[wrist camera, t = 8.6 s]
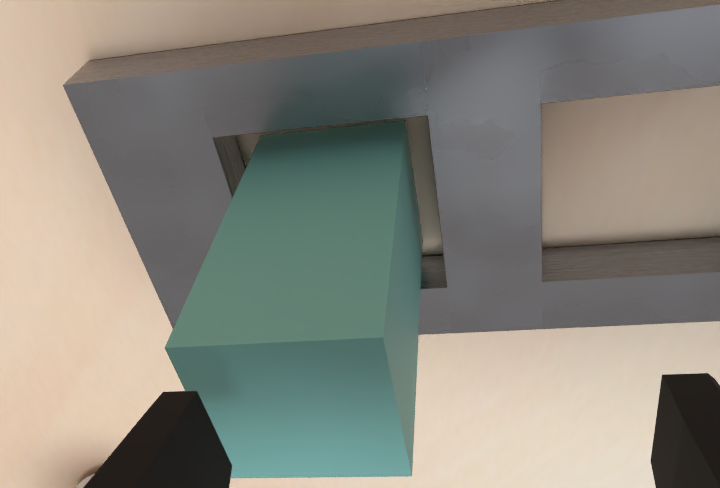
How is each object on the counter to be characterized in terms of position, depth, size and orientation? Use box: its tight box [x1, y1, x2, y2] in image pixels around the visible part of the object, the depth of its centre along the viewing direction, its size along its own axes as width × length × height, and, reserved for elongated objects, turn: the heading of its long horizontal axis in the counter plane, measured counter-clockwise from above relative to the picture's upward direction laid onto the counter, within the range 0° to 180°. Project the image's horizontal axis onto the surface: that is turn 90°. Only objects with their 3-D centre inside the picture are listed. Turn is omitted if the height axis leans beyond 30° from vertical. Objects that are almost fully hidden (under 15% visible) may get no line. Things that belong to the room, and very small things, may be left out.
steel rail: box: [63, 0, 720, 335], centre depth 18 cm, size 20×9×2 cm, turn 100°
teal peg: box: [165, 120, 423, 478], centre depth 16 cm, size 4×4×8 cm
